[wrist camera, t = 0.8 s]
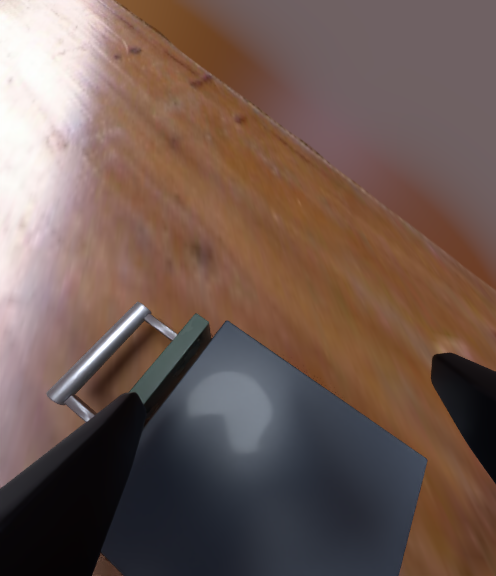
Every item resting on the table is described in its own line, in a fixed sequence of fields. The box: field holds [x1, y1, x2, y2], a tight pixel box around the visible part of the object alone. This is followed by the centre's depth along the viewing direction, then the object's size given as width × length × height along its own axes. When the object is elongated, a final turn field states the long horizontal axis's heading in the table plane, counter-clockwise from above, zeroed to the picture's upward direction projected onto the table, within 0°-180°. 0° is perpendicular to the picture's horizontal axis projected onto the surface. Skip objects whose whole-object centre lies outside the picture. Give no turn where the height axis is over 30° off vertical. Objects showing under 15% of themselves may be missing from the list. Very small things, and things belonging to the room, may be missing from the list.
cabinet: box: [101, 321, 427, 576], centre depth 16 cm, size 14×12×9 cm
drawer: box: [46, 302, 211, 428], centre depth 17 cm, size 18×11×7 cm, turn 56°
